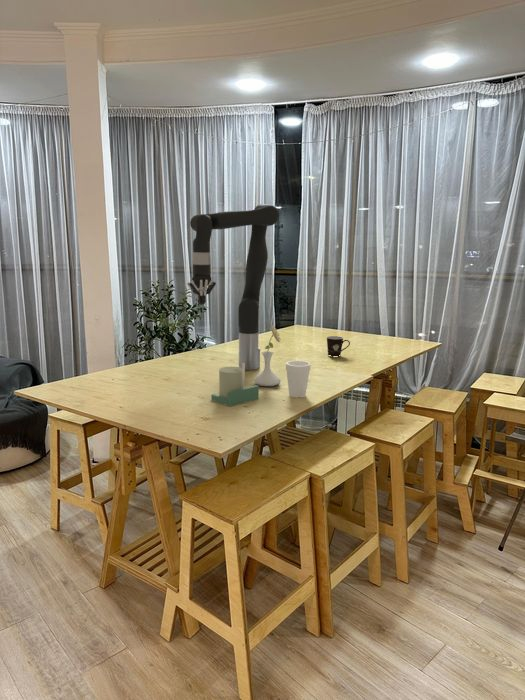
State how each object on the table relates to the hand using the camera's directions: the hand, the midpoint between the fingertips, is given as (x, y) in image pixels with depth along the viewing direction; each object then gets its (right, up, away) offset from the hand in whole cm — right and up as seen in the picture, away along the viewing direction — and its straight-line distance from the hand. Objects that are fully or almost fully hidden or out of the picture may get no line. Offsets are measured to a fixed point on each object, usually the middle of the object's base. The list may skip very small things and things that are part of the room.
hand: (202, 304), depth 213 cm
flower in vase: (+28, -34, -4) cm, 45 cm away
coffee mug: (+65, -23, +48) cm, 84 cm away
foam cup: (+40, -38, -19) cm, 58 cm away
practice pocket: (+16, -38, -24) cm, 48 cm away
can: (+14, -38, -24) cm, 47 cm away
